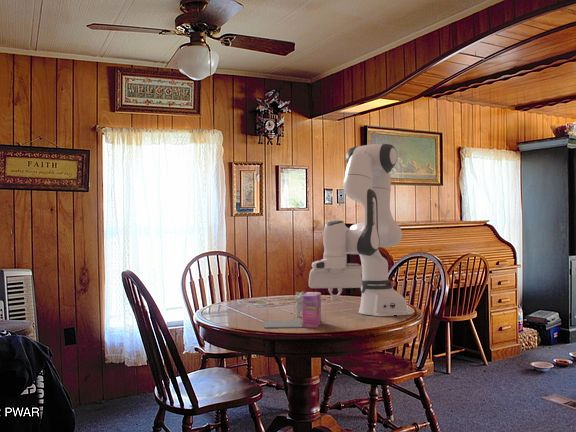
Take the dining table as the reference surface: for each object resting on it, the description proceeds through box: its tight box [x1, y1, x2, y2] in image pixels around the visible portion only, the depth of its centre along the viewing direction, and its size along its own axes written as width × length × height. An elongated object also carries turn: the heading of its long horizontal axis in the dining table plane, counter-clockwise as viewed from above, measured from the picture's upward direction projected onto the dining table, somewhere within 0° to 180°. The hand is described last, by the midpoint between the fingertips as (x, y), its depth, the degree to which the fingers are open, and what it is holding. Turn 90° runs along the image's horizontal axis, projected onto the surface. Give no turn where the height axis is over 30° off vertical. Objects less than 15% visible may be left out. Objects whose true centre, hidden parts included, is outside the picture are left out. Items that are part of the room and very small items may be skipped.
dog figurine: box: [294, 291, 306, 318], centre depth 214 cm, size 5×13×11 cm, turn 162°
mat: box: [264, 320, 303, 329], centre depth 196 cm, size 14×12×1 cm
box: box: [301, 291, 322, 329], centre depth 195 cm, size 10×6×12 cm, turn 168°
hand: (335, 299), depth 196 cm, fingers closed
